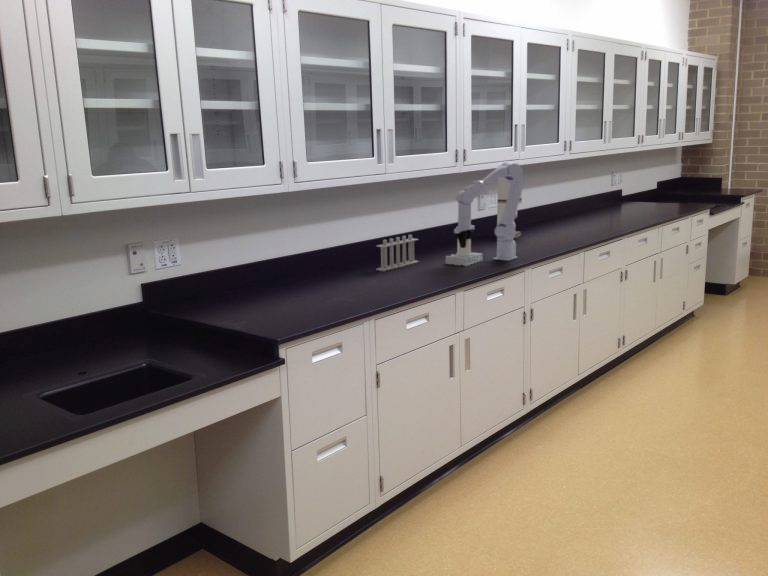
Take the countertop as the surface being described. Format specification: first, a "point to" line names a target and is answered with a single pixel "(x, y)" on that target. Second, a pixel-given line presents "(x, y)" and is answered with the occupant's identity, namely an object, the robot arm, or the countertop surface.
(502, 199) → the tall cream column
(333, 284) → the countertop surface
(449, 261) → the drying rack
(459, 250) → the cream tile
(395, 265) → the test tube rack
